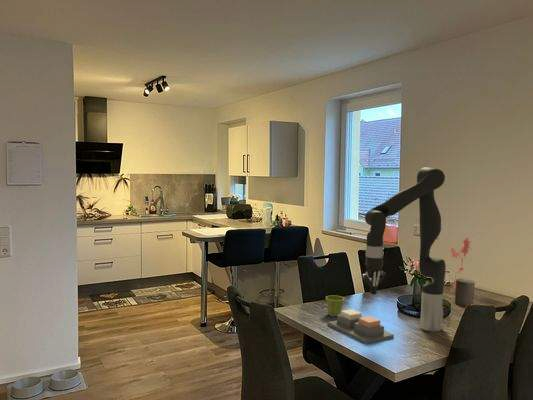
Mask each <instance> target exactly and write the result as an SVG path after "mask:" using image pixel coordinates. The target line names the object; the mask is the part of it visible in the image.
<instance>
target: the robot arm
mask: <svg viewBox="0 0 533 400" xmlns="http://www.w3.org/2000/svg"><path fill="white" fill-rule="evenodd" d="M445 175H446V174H445V173H444V171H442V169H439V168H437V167H428V166H427V167H422V168H420V169H419V171H418V172H417V175H416V184H414V185H412V186H410V187H408V188H406V189H403V190H401V191H399V192H397V193H395V194H394V195H392V196H391V197H389V198H388V199H386V200H385V201H384V202H382V203H381V204H378V205H376V206H375V207H372V208H371V209H370V210H368V211H367V212H366V214H365V216H364V221H365V222H366V224H367V225H369V226H370V229H369V232H367V235H366V247H365V267H366V269H365V273H362V274H361V275H360V276H361V278H362V279H363V281H364V282H365V284H366V285H368V286H369V293H370V295H377V292H378V285H381V284H382V282H383V280H384V278H385V276H386V275H387V272H384V271H383V268H382V267H383V266H384V263H383V262H384V235H385V231H386V225H387V217H392V216H395V215H396V214H398V213H399V212H400V211H401V210H403V209H405V208H406V207H407V206H409V205H410V204H412V203H413V202H415V201H416V200H419V201H418V203H419V204H418V207H419V210H418V211H419V239H420V240H419V242H420V243H419V244H420V246H419V247H420V249H419V262H418V269H419V270H418V271H419V274H420V275H421V276H422V277H424V278H425V277H426V278H432V279H433V282H430V283H424V284H423V285H422V286H421V302H420V304H421V305H420V318H419V319H420V322H419V323H420V324H419V327H420V329H422V330H424V331H428V332H432V333H433V332H436V333H437V332H441V331H442V330H443V323H444V322H443V321H444V308H443V300H444V299H443V298H444V297H443V296H444V288H445V279H446V277H445V276H446V269H447V268H446V267H447V265H446V261H445V260H444V259H442V258H437V257H431V256H430V253H431V252H430V251H431V247H432V246H433V244H434V243H435V242H436V240H437V239H438V237H439V236H440V234H441V232H442V218H441V217H442V216H441V213H440V209H439V208H438V205H437V203H436V199H435V194H434V193H435V192H434V191H435V190H437V189H439V188H441V186H442V185H443V184H444V183H445V181H446V180H445V179H446V176H445Z"/></svg>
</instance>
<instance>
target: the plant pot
mask: <svg viewBox="0 0 533 400" xmlns="http://www.w3.org/2000/svg"><path fill="white" fill-rule="evenodd" d="M325 300H326V302H327V304H326V305H327V314H328V316H331V317H337V315H341V311H342V308H343V303H344V301H345V297H343V296H340V295H332V294H331V295H327V296H325Z"/></svg>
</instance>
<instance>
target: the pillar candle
mask: <svg viewBox="0 0 533 400" xmlns="http://www.w3.org/2000/svg"><path fill="white" fill-rule="evenodd" d="M475 283H476V281H475V280H473V279H470V278H466V277H465V278H461V277H459V278H456V290H455V292H454V294H455V295H454V305H457V306H459V307H464V306H465V307H466V306H467V305H471V304H473V305H474V298H475V292H474V291H475V285H476V284H475Z"/></svg>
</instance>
